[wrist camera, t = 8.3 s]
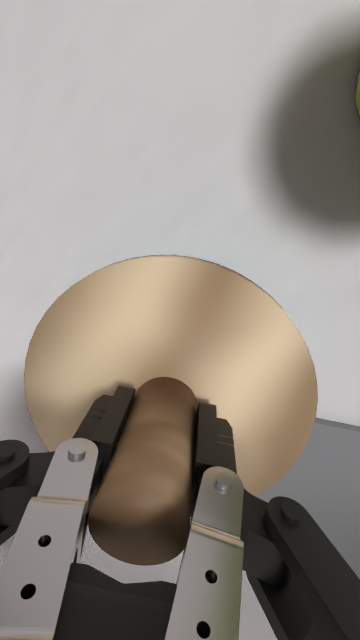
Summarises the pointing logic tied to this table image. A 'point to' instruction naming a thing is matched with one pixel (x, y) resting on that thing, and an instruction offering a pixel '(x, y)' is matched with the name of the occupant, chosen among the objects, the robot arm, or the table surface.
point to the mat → (328, 485)
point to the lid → (170, 388)
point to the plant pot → (358, 94)
